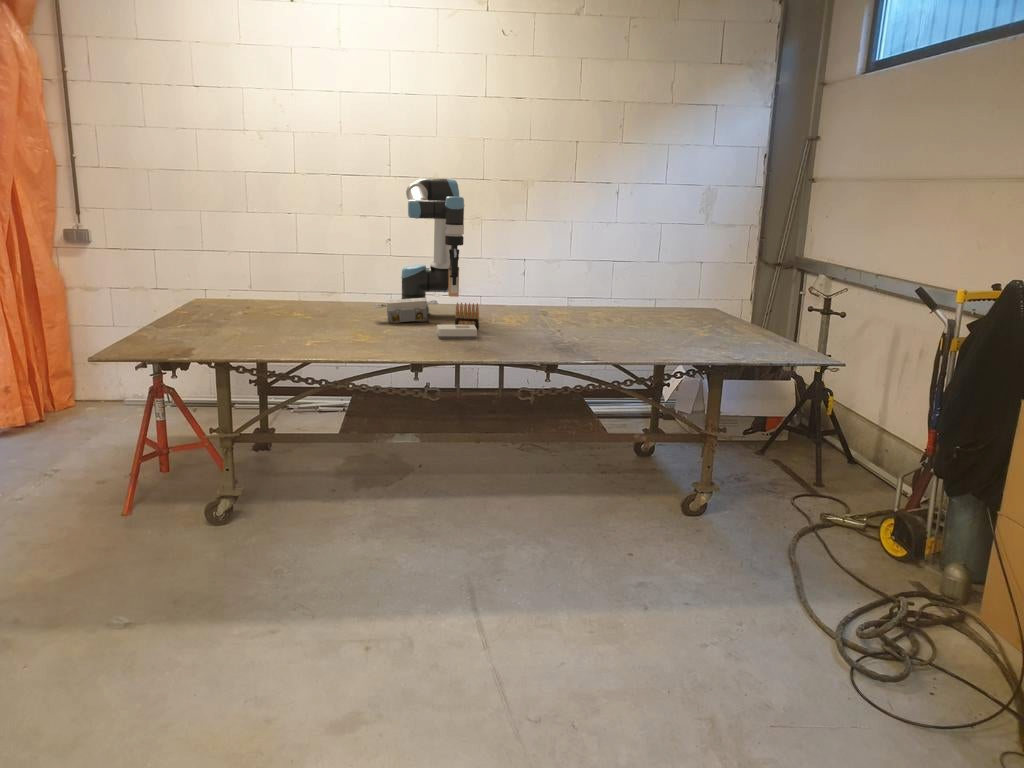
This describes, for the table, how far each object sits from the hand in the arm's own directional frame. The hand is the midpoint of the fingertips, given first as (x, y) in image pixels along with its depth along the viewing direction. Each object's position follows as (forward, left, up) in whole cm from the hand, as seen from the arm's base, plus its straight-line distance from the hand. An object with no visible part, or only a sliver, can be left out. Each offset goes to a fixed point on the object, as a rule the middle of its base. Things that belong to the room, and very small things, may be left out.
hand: (453, 291), depth 314 cm
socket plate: (0, +2, -19) cm, 19 cm away
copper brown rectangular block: (0, 0, -2) cm, 2 cm away
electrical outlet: (-35, -18, -19) cm, 44 cm away
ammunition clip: (-15, +8, -19) cm, 25 cm away
